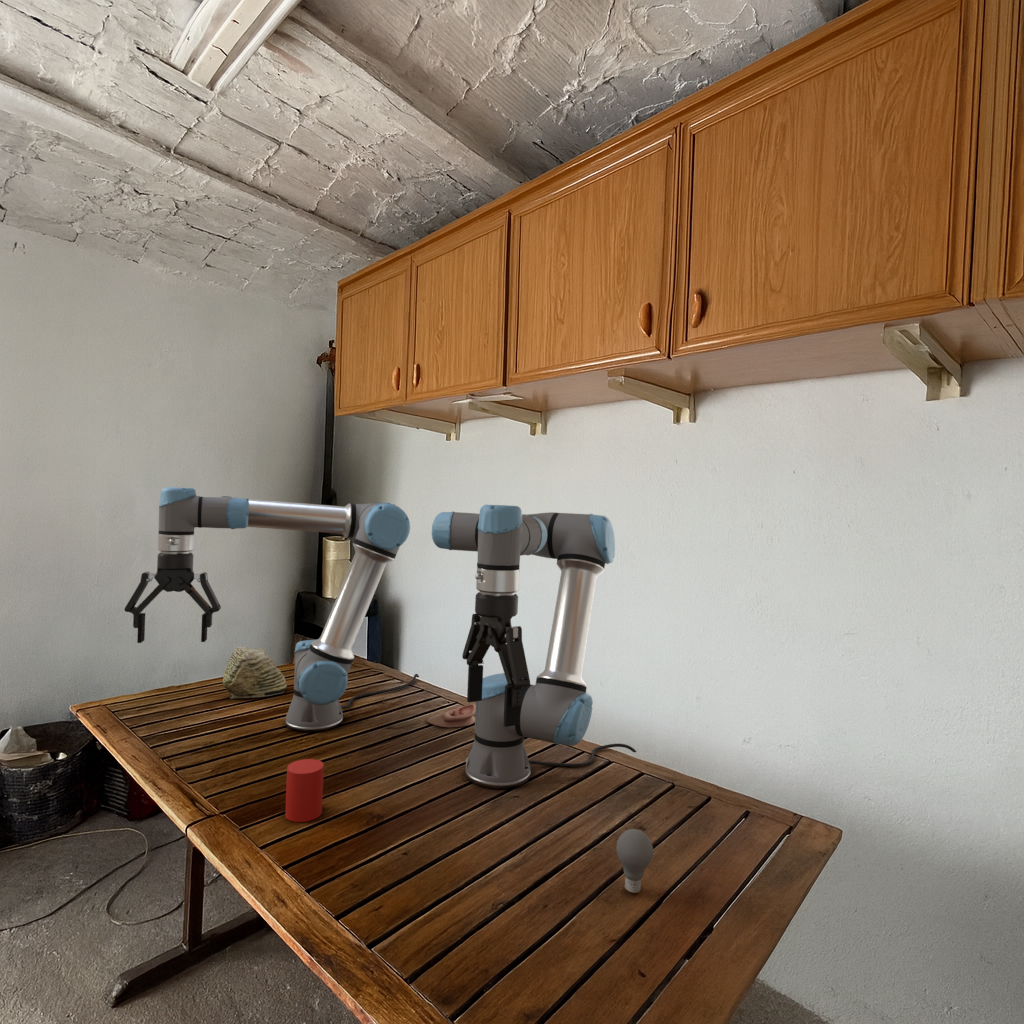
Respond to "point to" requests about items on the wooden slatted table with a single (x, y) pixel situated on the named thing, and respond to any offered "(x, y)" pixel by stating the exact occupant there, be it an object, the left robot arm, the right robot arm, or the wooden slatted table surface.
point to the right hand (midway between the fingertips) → (491, 712)
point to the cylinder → (304, 790)
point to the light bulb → (634, 857)
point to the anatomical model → (455, 717)
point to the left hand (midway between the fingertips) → (172, 641)
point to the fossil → (252, 674)
